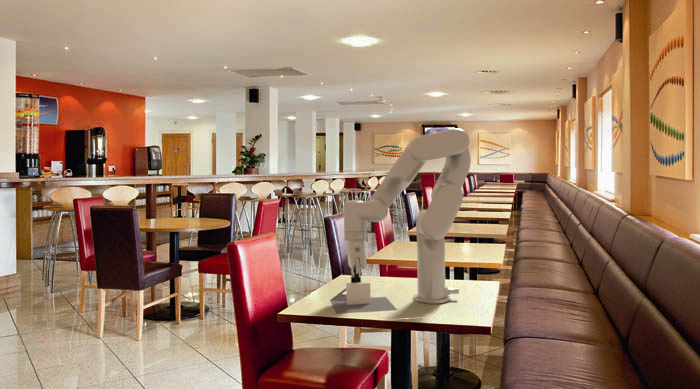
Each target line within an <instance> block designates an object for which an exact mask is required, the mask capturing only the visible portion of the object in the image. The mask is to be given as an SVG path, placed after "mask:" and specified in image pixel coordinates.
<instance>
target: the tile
mask: <svg viewBox="0 0 700 389" xmlns="http://www.w3.org/2000/svg"><path fill="white" fill-rule="evenodd" d="M345 283H346V284H345V287H346V301H347V305H350V304H368V303H370V298H371V282H370V281H367V282H362V281H361V282H360V283H351V282H345Z"/></svg>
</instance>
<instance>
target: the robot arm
mask: <svg viewBox="0 0 700 389" xmlns="http://www.w3.org/2000/svg"><path fill="white" fill-rule="evenodd" d="M470 141H471V140H470V136H469V134H468V133H467V132H466V131H465V130H464V129H462V128H451V129H448V130H442V131H438V132H434V133H429V134H428V133H427V134H423V135H422V134H421V135H418V136H415V137H413V138H412V139H411V140H410V141H409V143H407V145H406V147H404V150H403V151H402V152H401V154H400V155H399V157H398V158H397V160H396V161H395V162H394V164H393V165H392V167H391V168H390V169H389V171H388V172H387V173H386V175H385V177H384V179H383V180H382V181H381V183H380V184H379V186H378V187H377V188H376V190H375V191H374V193H373V194H372V195H371V197H370V198H369V200H368V201H364V200H357V199H352V200H346V201H345V202H344V203H343V232H344V238H343V239H344V241H346V242H347V264H348V267H349V268H350V275H351V276H350V283H360V282H362V278H361V270H366V256H365V255H366V253H365V252H366V251H365V243H364V242H365V241H366V240H367V230H366V229H367V224H366V223H367V222H373V223H374V222H375V223H379V222H382V221H384V220H386V218H387V217H388V214H389V209H390V207H391V206H392V204H393V203H394V202H395V200H396V199H397V197H398V196H400V194H401V193H402V192H403V191H404V190H406V189H407V188H408V187H410V185H411V184H412V182H413V181H414V179H415V178H416V177H417V175H418V174H419V172H420V170H421V169H422V168H423V166H424V165H425V164H426V163H427V161H430V160H431V161H432V160H437V159H440V158H445V162H444V165H443V168H442V170H441V173H440V175H439V176H438V178H437V180H436V183H435V185H434V186H433V188H432V189H431V193H430V197H431V201H430V203H429V204H428V206H427V209H425V210H424V209H423V211H421V212H420V214H418V217H417V219H416V223H415V224H416V225H415V229H416V230H415V232H416V247H417V249H416V252H417V254H416V255H417V256H416V259H417V260H416V262H417V264H416V265H417V266H416V267H417V268H416V269H417V293H415V294H413V297H412V298H413V301H415V302H417V303H420V304H429V305H430V304H431V305H434V304H436V305H437V304H444V303H447V302H449V301H450V300H451V296H450V295H451V294H452V295H458V294H459V293H460V291H459V289H460V288H458V287H457V288H456V287H455V288H453V287H447V286H446V246H445V245H446V244H445V241H446V240H445V236H447V234H448V232H449V230H450V229H451V228H452V225H453V223H454V222H455V219H456V216H457V215H458V213H459V211H460V208H461V207H462V204H463V200H464V195H463V194H464V193H463V191H462V190H463V189H462V188H463V186H464V183H465V181H466V178H467V176H468V174H469V171H470V169H471V168H470V167H471V163H472V161H471V152H470V149H469V146H470Z"/></svg>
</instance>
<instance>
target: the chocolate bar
mask: <svg viewBox="0 0 700 389" xmlns="http://www.w3.org/2000/svg"><path fill="white" fill-rule="evenodd" d="M330 300H337V301H346V288H344V289H343V290H342V291H340V292H339V293H338V294H335V296H333V297H332V298H331V299H330Z"/></svg>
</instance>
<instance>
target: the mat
mask: <svg viewBox="0 0 700 389" xmlns="http://www.w3.org/2000/svg"><path fill="white" fill-rule="evenodd" d="M329 301H330V303H331V305H332V307H333V310H334V311H335V314H337V315H338V314H352V313H354V314H355V313H372V312H388V311H398V309H397V307H395V306H394V304H393V303H392V302H391V301H390V300H389V299H388V298H387V296H379V297H377V296H376V297H370V303H368V304H350V305H347V301H337V300H331V299H329Z"/></svg>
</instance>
